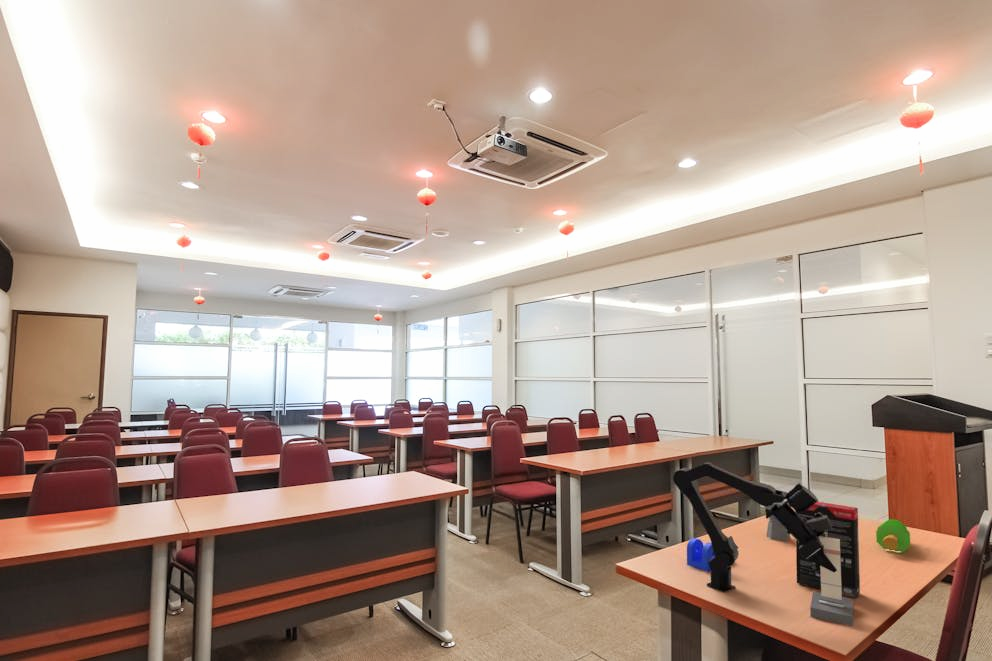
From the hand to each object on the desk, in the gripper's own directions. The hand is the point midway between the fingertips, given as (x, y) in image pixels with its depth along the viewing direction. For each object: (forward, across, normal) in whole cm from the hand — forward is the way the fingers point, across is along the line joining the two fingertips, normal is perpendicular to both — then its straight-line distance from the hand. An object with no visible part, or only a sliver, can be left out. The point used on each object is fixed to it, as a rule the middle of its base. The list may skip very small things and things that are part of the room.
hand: (836, 566), depth 154 cm
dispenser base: (+8, 0, +10) cm, 13 cm away
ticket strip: (+6, 0, +8) cm, 9 cm away
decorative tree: (+23, +87, -4) cm, 90 cm away
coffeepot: (-6, +73, +25) cm, 77 cm away
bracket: (-18, +22, +37) cm, 47 cm away
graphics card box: (+7, +20, +11) cm, 24 cm away
